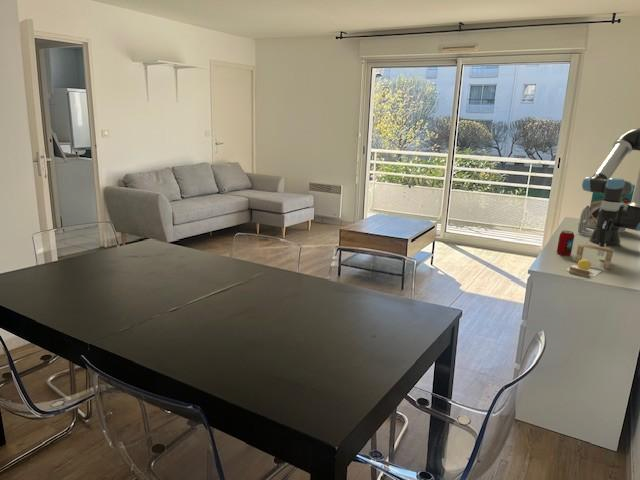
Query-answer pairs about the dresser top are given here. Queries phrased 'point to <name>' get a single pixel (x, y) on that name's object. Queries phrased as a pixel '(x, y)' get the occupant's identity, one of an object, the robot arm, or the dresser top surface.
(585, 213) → the ornament
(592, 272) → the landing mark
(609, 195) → the robot arm
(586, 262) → the ball
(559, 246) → the beverage can
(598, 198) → the cake mix box
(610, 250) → the bridge
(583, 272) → the wall
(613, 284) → the dresser top surface
